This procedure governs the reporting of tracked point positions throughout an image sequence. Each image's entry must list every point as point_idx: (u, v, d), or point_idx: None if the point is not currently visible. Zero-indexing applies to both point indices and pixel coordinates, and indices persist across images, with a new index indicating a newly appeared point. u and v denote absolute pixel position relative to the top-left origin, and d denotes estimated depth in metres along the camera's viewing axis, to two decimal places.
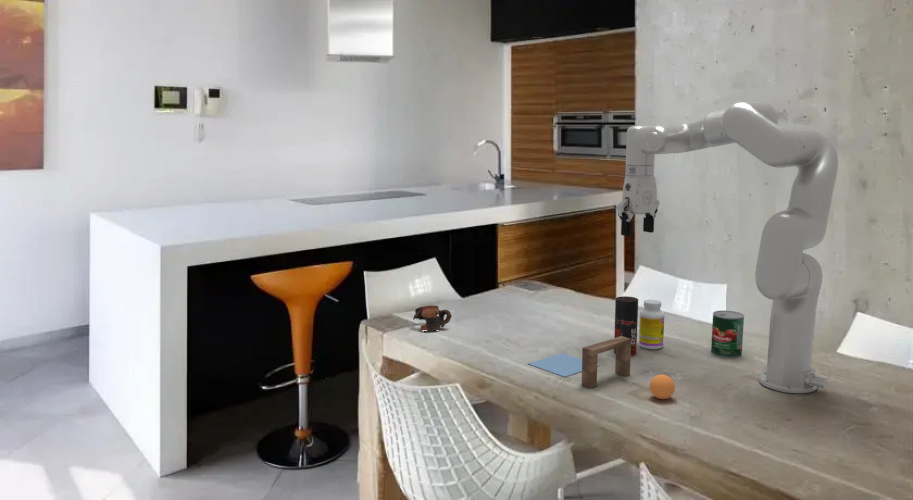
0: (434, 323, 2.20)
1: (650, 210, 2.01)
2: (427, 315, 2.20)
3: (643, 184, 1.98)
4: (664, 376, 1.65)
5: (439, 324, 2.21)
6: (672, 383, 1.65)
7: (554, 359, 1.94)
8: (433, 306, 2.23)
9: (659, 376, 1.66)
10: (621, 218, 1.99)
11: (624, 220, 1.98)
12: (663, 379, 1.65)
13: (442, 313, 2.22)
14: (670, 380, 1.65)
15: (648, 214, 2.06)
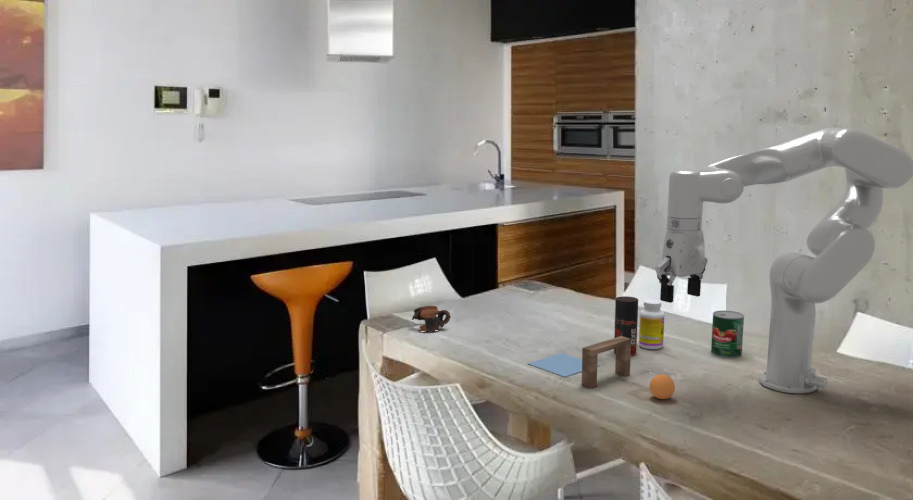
0: (433, 323, 2.19)
1: (696, 271, 1.67)
2: (426, 315, 2.19)
3: (688, 240, 1.63)
4: (664, 376, 1.65)
5: (438, 324, 2.20)
6: (672, 383, 1.65)
7: (554, 359, 1.94)
8: (432, 306, 2.22)
9: (659, 376, 1.66)
10: (661, 281, 1.65)
11: (664, 283, 1.65)
12: (663, 379, 1.65)
13: (441, 313, 2.21)
14: (670, 380, 1.65)
15: (694, 274, 1.71)
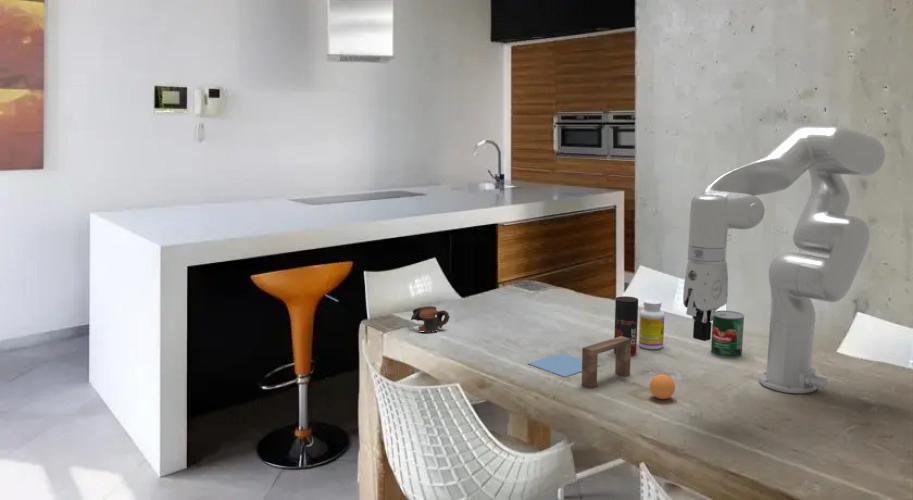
0: (432, 324, 2.19)
1: (720, 304, 1.54)
2: (425, 316, 2.19)
3: (712, 271, 1.51)
4: (664, 376, 1.65)
5: (437, 325, 2.20)
6: (672, 383, 1.65)
7: (554, 359, 1.94)
8: (431, 307, 2.22)
9: (659, 376, 1.66)
10: (695, 318, 1.55)
11: (698, 321, 1.55)
12: (663, 379, 1.65)
13: (440, 314, 2.21)
14: (670, 380, 1.65)
15: None
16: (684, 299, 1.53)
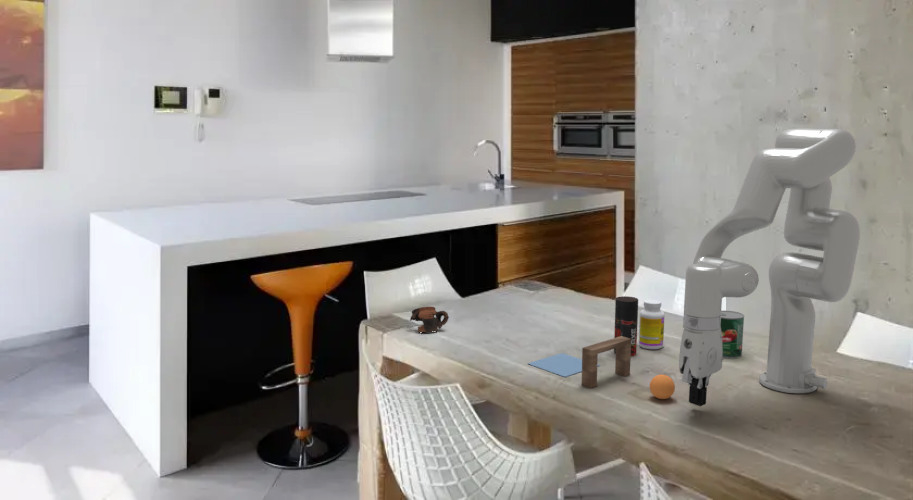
0: (431, 324, 2.19)
1: (715, 370, 1.57)
2: (424, 316, 2.19)
3: (707, 340, 1.54)
4: (664, 376, 1.65)
5: (436, 325, 2.19)
6: (672, 383, 1.65)
7: (554, 359, 1.94)
8: (430, 307, 2.21)
9: (659, 376, 1.66)
10: (690, 384, 1.58)
11: (694, 386, 1.57)
12: (663, 379, 1.65)
13: (439, 314, 2.20)
14: (670, 380, 1.65)
15: None
16: (680, 366, 1.56)
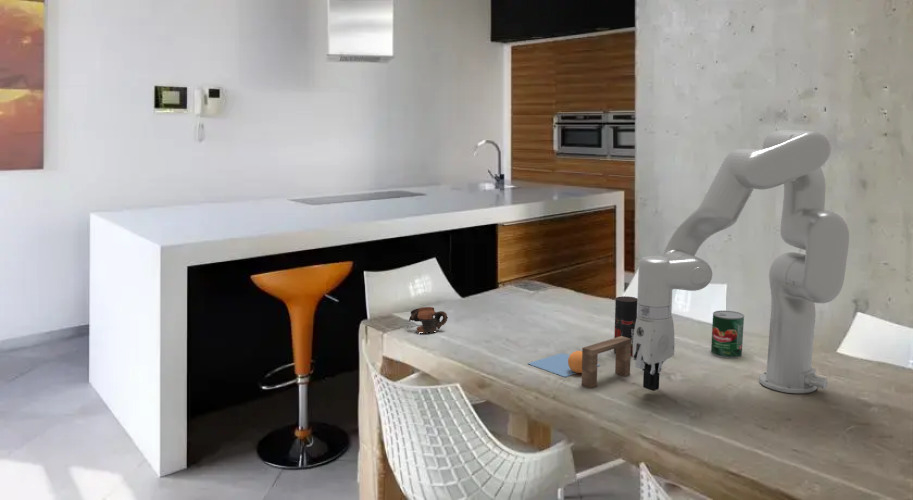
0: (430, 325, 2.18)
1: (667, 357, 1.66)
2: (423, 317, 2.18)
3: (658, 328, 1.63)
4: None
5: (435, 326, 2.19)
6: None
7: (554, 359, 1.94)
8: (429, 308, 2.21)
9: None
10: (644, 370, 1.67)
11: (647, 372, 1.67)
12: None
13: (438, 315, 2.20)
14: None
15: None
16: (633, 353, 1.65)
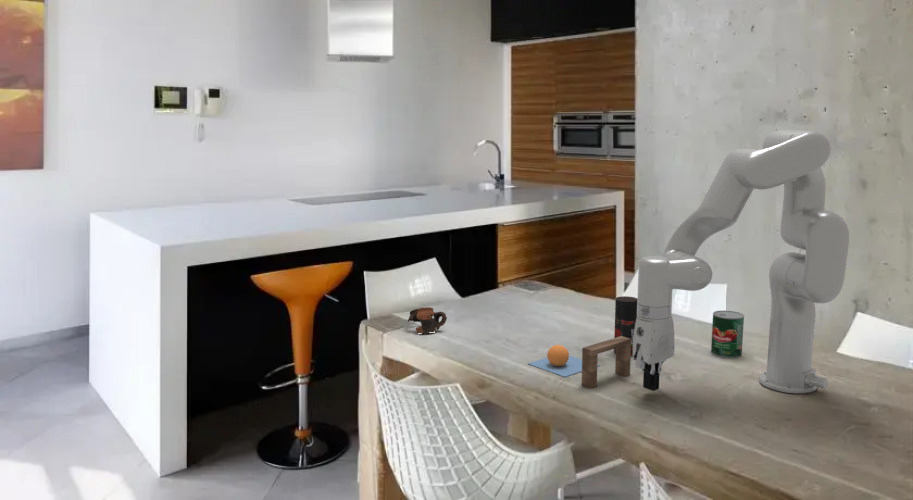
0: (429, 325, 2.18)
1: (667, 357, 1.66)
2: (422, 317, 2.18)
3: (658, 328, 1.63)
4: (565, 362, 1.87)
5: (434, 326, 2.18)
6: None
7: None
8: (428, 308, 2.20)
9: (563, 359, 1.86)
10: (644, 370, 1.67)
11: (647, 372, 1.67)
12: (561, 363, 1.87)
13: (437, 315, 2.20)
14: None
15: None
16: (633, 353, 1.65)
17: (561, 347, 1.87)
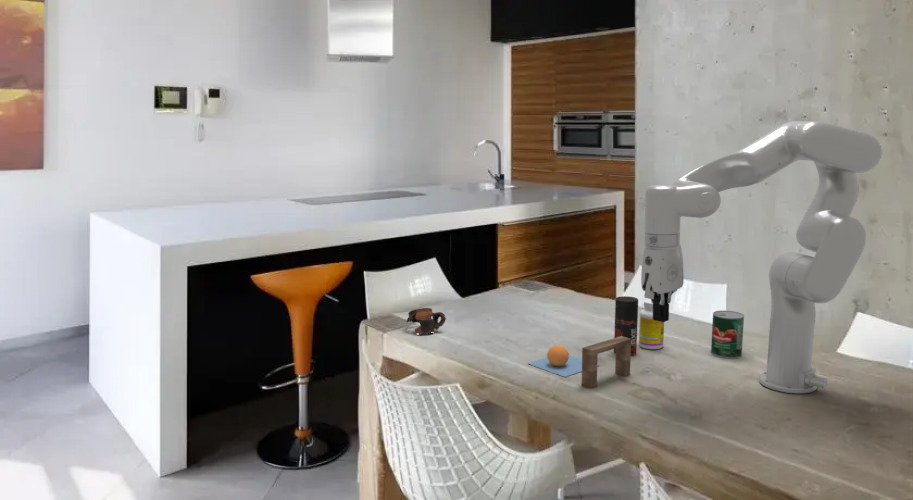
0: (428, 326, 2.17)
1: (676, 287, 1.64)
2: (421, 318, 2.17)
3: (667, 256, 1.60)
4: (565, 362, 1.87)
5: (433, 327, 2.18)
6: None
7: None
8: (427, 309, 2.20)
9: (563, 359, 1.86)
10: (653, 301, 1.65)
11: (657, 303, 1.64)
12: (561, 363, 1.87)
13: (436, 316, 2.19)
14: None
15: None
16: (642, 283, 1.63)
17: (561, 347, 1.87)
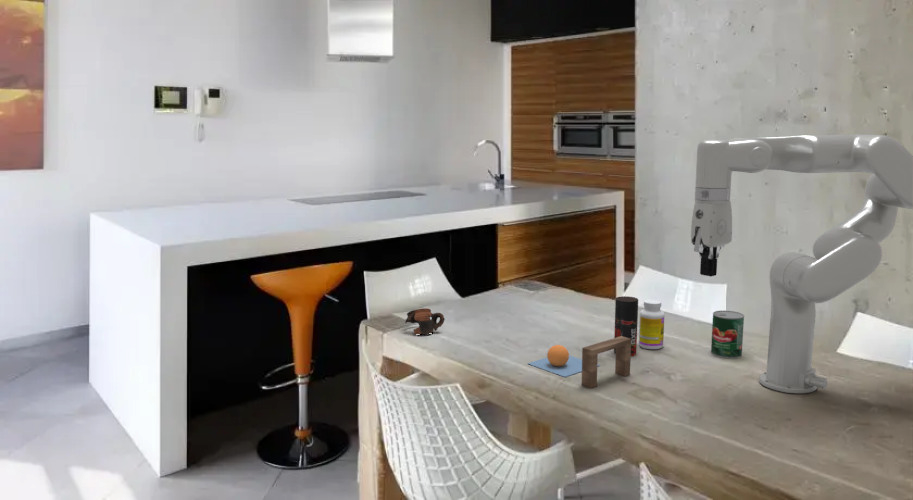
0: (427, 326, 2.16)
1: (725, 242, 1.66)
2: (420, 318, 2.16)
3: (718, 210, 1.63)
4: (565, 362, 1.87)
5: (432, 327, 2.17)
6: None
7: None
8: (426, 309, 2.19)
9: (563, 359, 1.86)
10: (702, 255, 1.67)
11: (705, 257, 1.67)
12: (561, 363, 1.87)
13: (435, 316, 2.18)
14: None
15: None
16: (692, 237, 1.65)
17: (561, 347, 1.87)
